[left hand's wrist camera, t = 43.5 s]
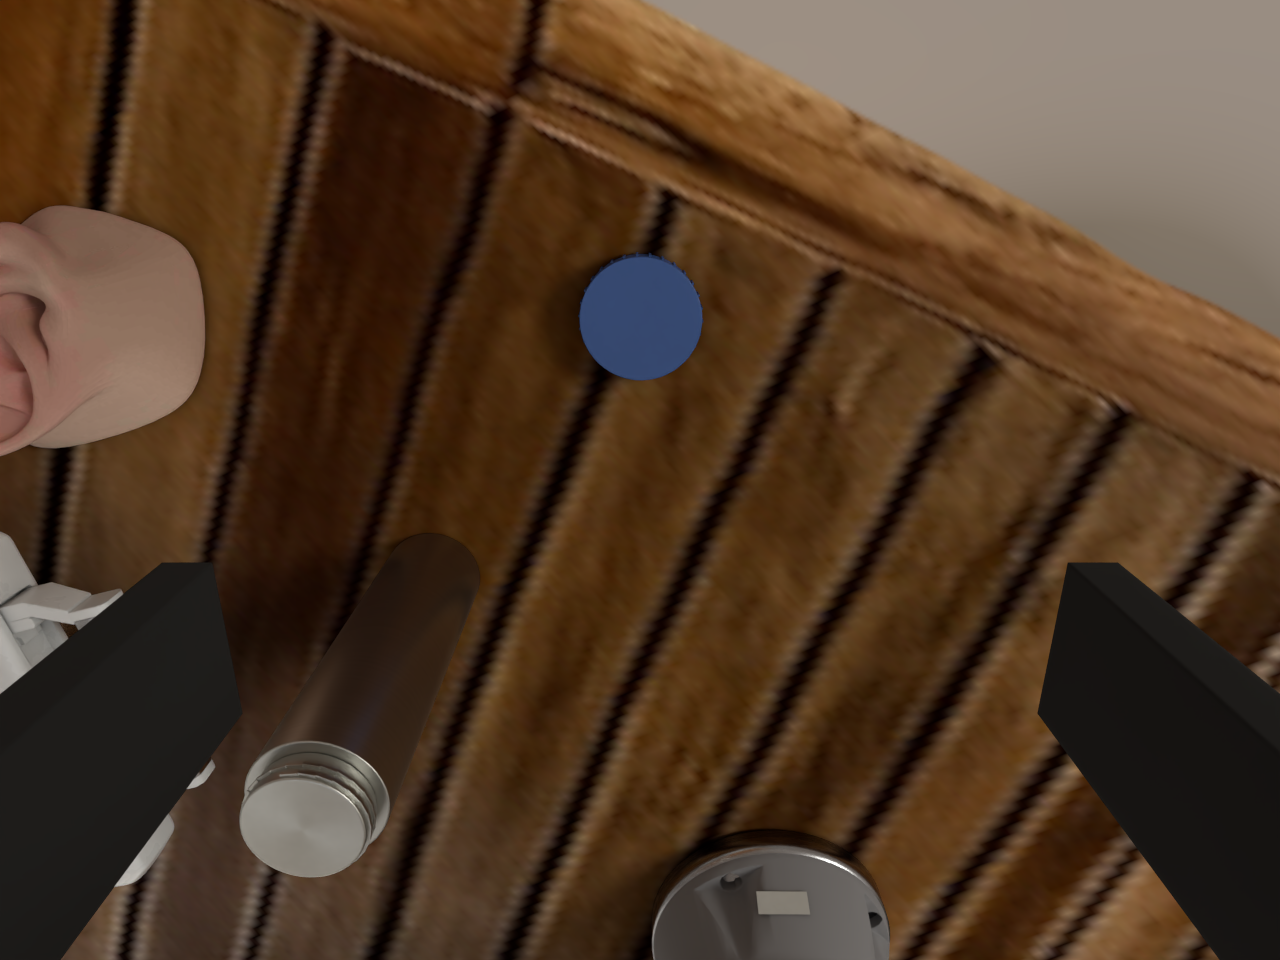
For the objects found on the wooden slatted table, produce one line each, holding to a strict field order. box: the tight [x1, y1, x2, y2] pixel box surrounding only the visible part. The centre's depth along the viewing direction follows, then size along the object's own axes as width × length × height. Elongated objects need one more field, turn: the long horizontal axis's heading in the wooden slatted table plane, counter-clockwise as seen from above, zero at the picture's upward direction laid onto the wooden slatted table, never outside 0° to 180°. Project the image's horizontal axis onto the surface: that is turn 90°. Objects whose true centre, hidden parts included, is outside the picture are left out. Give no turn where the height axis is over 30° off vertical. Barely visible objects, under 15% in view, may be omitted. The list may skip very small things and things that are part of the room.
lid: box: [578, 252, 703, 380], centre depth 40 cm, size 6×6×2 cm
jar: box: [239, 533, 480, 877], centre depth 37 cm, size 5×5×19 cm
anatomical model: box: [0, 206, 205, 456], centre depth 39 cm, size 13×4×12 cm
